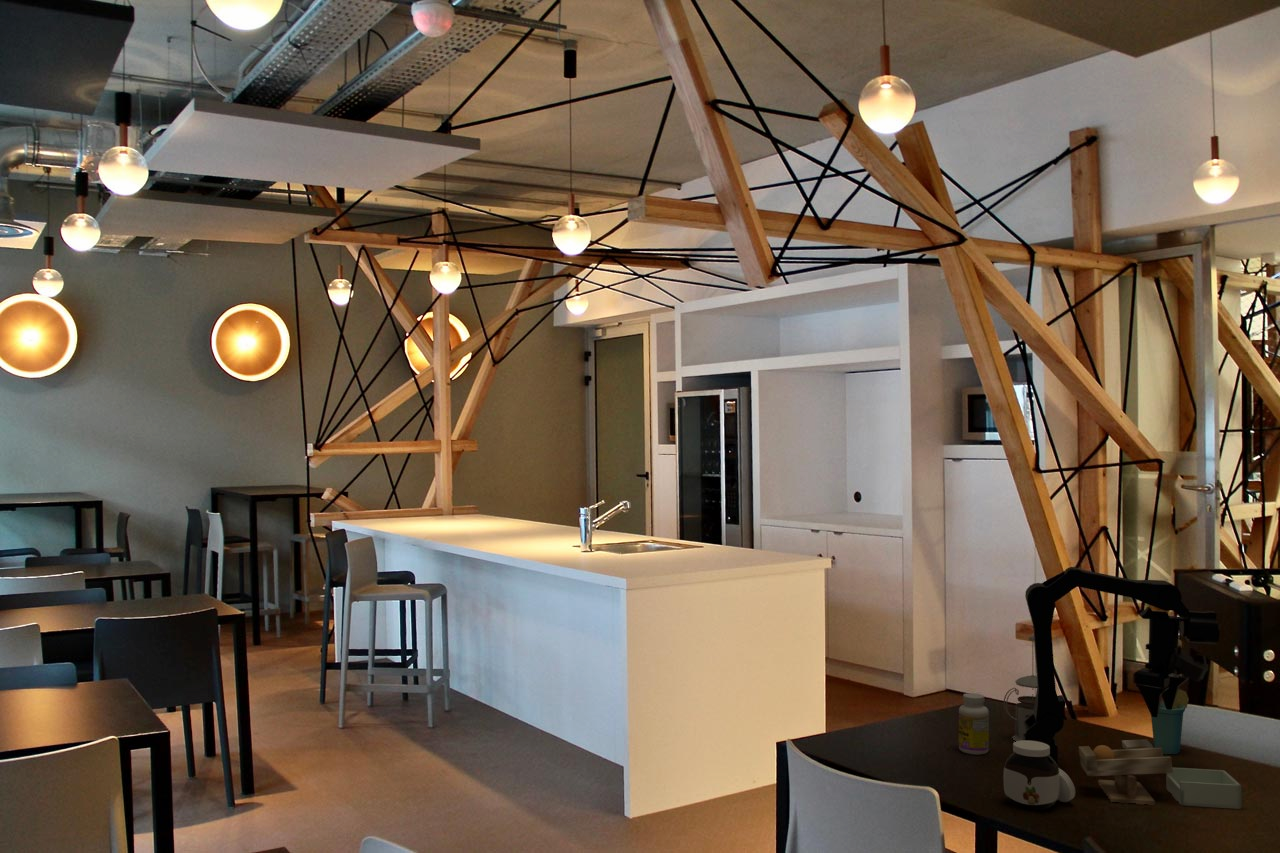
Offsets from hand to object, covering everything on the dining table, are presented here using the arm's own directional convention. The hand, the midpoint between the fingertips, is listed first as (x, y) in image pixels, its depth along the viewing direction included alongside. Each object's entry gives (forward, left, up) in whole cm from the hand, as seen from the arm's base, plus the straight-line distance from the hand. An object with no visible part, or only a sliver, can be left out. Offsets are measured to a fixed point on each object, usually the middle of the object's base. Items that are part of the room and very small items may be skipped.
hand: (1161, 713), depth 233 cm
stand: (-11, -15, -13) cm, 23 cm away
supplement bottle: (-38, +10, -13) cm, 41 cm away
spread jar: (-29, -24, -13) cm, 40 cm away
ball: (-15, -15, -6) cm, 22 cm away
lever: (-11, -10, -8) cm, 17 cm away
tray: (+4, -15, -13) cm, 20 cm away
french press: (-24, +22, -13) cm, 35 cm away
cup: (+5, +18, -13) cm, 23 cm away
